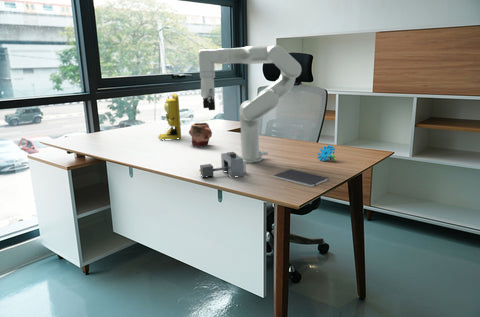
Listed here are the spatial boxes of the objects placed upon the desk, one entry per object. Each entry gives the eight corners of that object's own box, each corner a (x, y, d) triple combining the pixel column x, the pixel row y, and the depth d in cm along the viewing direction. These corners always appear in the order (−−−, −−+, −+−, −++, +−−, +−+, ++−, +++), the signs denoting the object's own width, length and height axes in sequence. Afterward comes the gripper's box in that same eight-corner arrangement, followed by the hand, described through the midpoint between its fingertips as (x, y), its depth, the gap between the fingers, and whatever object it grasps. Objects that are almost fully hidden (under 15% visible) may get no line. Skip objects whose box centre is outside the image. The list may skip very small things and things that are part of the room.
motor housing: (233, 168, 194) (232, 149, 191) (243, 176, 181) (242, 155, 178) (221, 170, 192) (220, 150, 189) (231, 178, 179) (230, 157, 176)
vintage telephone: (157, 134, 289) (153, 93, 281) (175, 133, 293) (172, 92, 285) (161, 142, 260) (157, 97, 252) (182, 140, 264) (179, 96, 256)
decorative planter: (220, 145, 245) (219, 123, 242) (206, 149, 237) (205, 126, 233) (198, 142, 258) (197, 121, 255) (184, 145, 249) (182, 124, 246)
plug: (242, 169, 190) (242, 158, 189) (246, 172, 186) (245, 160, 185) (199, 175, 183) (198, 164, 182) (201, 178, 179) (200, 166, 178)
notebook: (328, 181, 172) (290, 172, 187) (328, 177, 172) (290, 169, 187) (311, 188, 164) (273, 178, 178) (312, 184, 163) (273, 175, 178)
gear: (313, 155, 207) (325, 141, 207) (319, 162, 210) (331, 148, 210) (325, 163, 198) (338, 148, 198) (331, 169, 201) (344, 155, 201)
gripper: (195, 74, 202) (197, 107, 207) (204, 75, 187) (206, 111, 191) (209, 74, 205) (211, 106, 209) (219, 75, 189) (221, 110, 193)
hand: (209, 109), depth 200 cm, fingers open, 9 cm apart
